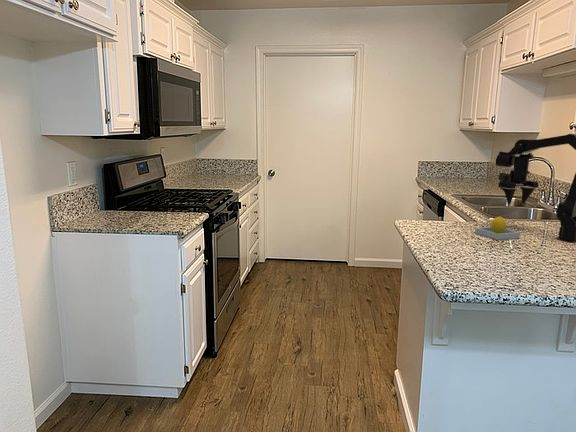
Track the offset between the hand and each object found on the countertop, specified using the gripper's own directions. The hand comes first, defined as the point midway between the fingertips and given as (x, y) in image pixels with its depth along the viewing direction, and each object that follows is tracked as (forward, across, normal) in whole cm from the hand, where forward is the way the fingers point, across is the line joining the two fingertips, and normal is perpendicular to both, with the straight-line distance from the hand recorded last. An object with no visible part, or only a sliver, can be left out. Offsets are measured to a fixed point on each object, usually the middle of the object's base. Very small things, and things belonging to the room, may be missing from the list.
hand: (515, 203), depth 199 cm
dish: (+12, +19, +8) cm, 23 cm away
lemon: (+12, +18, +8) cm, 23 cm away
